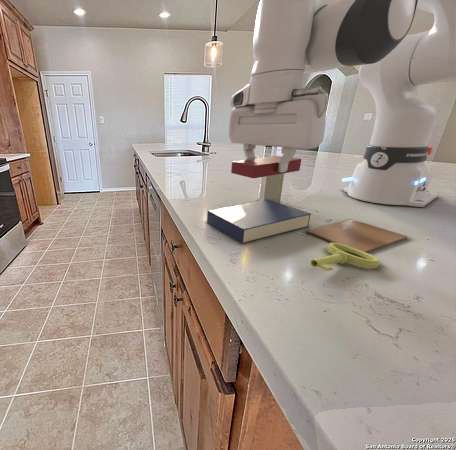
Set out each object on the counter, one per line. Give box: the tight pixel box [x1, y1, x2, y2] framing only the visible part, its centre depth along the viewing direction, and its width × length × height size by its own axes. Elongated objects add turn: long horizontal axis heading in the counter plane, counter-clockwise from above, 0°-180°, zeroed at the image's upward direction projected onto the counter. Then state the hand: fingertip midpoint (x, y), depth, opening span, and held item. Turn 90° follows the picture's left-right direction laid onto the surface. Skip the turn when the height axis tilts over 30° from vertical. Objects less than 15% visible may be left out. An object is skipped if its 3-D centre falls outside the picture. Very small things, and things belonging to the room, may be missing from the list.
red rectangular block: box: [230, 155, 302, 179], centre depth 50 cm, size 12×6×2 cm, turn 113°
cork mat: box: [306, 218, 408, 253], centre depth 48 cm, size 14×10×1 cm
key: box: [309, 242, 381, 272], centre depth 38 cm, size 7×12×2 cm, turn 132°
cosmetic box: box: [258, 173, 285, 204], centre depth 66 cm, size 6×4×12 cm
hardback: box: [206, 199, 312, 244], centre depth 54 cm, size 18×12×3 cm
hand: (264, 168), depth 50 cm, fingers closed on red rectangular block, 6 cm apart
